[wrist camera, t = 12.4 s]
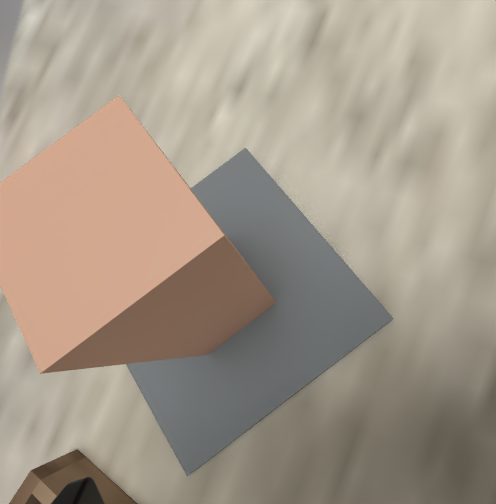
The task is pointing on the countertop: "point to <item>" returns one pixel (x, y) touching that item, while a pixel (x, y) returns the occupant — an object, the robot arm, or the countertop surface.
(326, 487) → the countertop surface
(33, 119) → the countertop surface
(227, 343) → the rubber mat
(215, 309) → the terracotta block
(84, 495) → the robot arm
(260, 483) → the countertop surface
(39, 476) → the wooden frame
